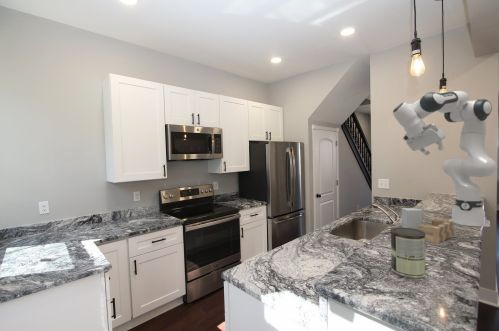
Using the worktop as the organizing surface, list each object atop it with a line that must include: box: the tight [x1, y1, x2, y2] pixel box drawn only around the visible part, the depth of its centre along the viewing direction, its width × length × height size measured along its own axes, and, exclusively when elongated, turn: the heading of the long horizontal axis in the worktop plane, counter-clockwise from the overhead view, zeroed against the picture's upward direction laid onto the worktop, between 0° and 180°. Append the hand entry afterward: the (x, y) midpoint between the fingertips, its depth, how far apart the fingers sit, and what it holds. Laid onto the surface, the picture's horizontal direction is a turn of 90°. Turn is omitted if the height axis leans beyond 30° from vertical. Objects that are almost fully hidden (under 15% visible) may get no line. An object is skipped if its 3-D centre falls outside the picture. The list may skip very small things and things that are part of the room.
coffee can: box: [390, 227, 427, 279], centre depth 87 cm, size 10×10×14 cm
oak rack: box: [418, 218, 455, 245], centre depth 124 cm, size 21×8×7 cm, turn 126°
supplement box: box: [401, 207, 423, 230], centre depth 133 cm, size 7×7×13 cm
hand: (435, 152), depth 129 cm, fingers open, 8 cm apart
